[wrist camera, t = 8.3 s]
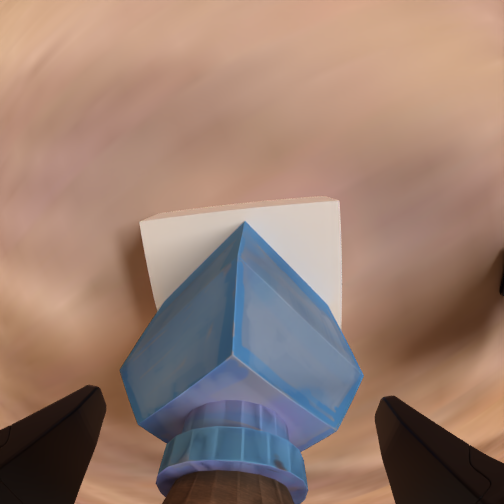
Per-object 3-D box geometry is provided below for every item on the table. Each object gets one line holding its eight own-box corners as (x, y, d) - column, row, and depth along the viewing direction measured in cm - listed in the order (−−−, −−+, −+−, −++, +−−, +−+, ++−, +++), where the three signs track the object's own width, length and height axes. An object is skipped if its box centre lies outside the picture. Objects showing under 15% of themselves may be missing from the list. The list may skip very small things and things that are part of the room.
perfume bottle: (163, 302, 15) (49, 492, 4) (245, 220, 14) (205, 413, 3) (245, 371, 16) (235, 569, 5) (327, 304, 15) (423, 509, 4)
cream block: (321, 195, 18) (339, 200, 14) (326, 337, 20) (339, 370, 16) (162, 211, 18) (139, 221, 14) (188, 348, 21) (176, 382, 17)
